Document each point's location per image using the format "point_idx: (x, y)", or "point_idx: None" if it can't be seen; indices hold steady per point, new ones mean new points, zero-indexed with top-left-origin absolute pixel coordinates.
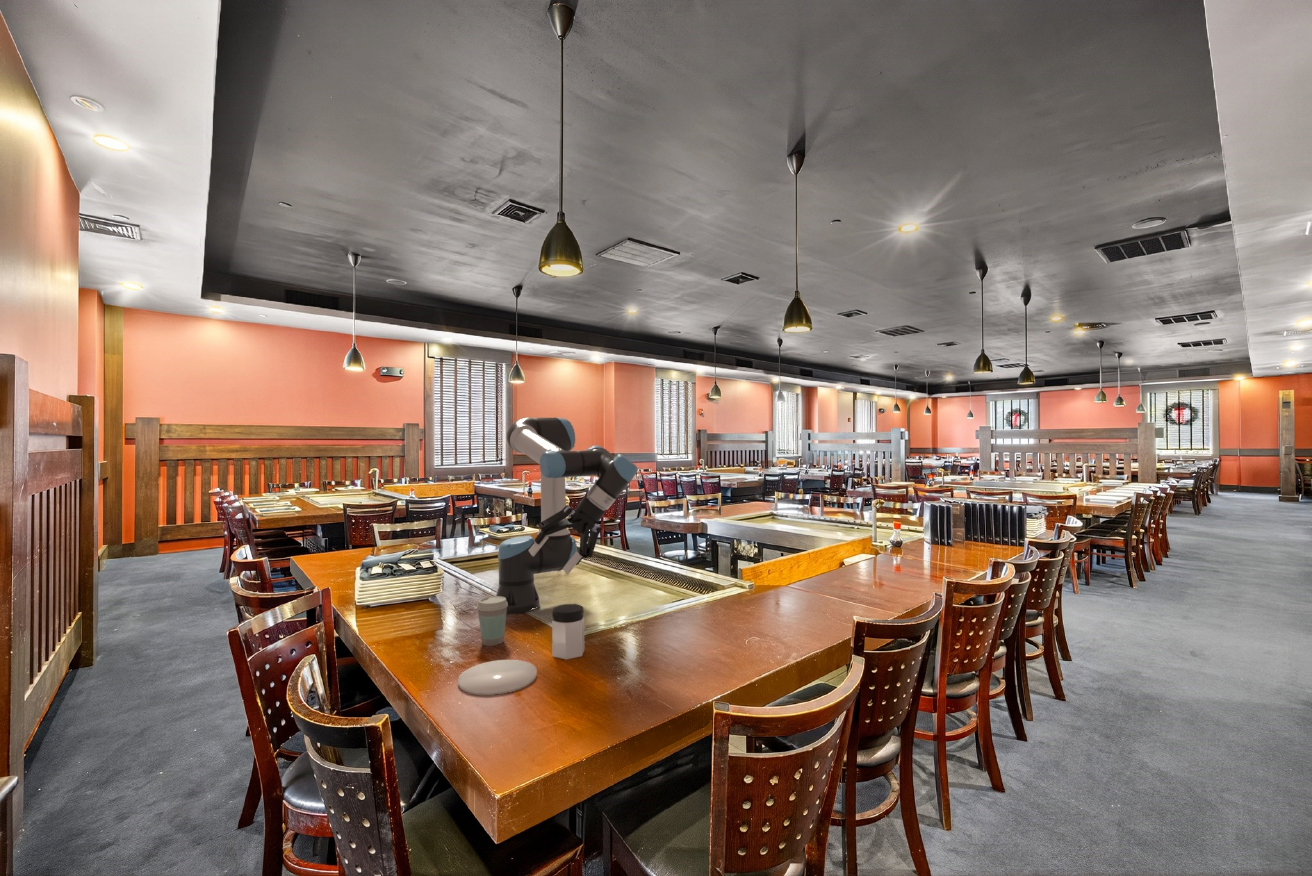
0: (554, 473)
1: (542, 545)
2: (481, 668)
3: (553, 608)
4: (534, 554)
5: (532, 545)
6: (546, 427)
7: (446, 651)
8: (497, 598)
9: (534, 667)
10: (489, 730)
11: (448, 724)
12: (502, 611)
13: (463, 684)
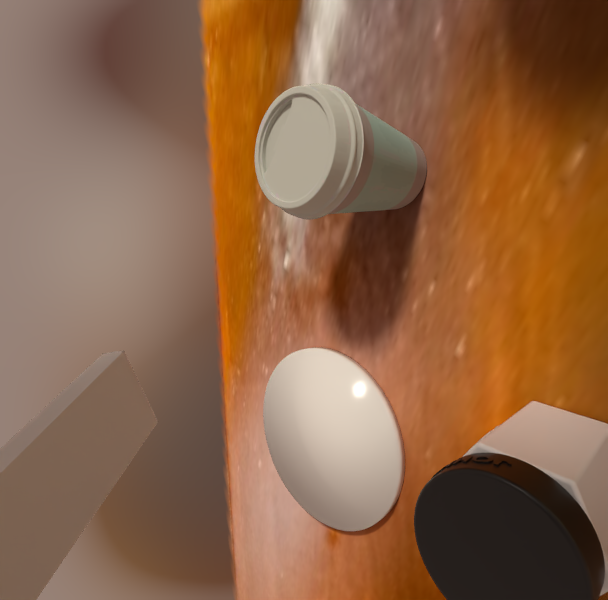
0: None
1: (83, 528)
2: (306, 376)
3: (428, 485)
4: (142, 435)
5: (65, 390)
6: None
7: None
8: (314, 127)
9: (394, 484)
10: (267, 586)
11: (238, 511)
12: (337, 208)
13: (266, 422)
